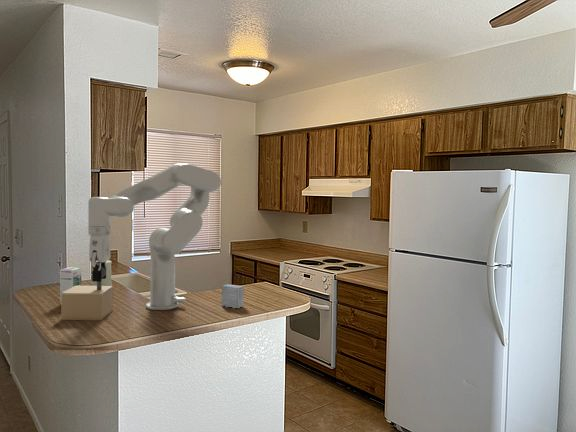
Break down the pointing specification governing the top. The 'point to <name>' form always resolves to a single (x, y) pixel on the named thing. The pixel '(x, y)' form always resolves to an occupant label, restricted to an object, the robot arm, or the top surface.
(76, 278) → the syrup box
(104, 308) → the wooden box
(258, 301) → the top surface
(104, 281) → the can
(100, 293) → the lid
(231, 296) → the medicine box
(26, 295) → the top surface
